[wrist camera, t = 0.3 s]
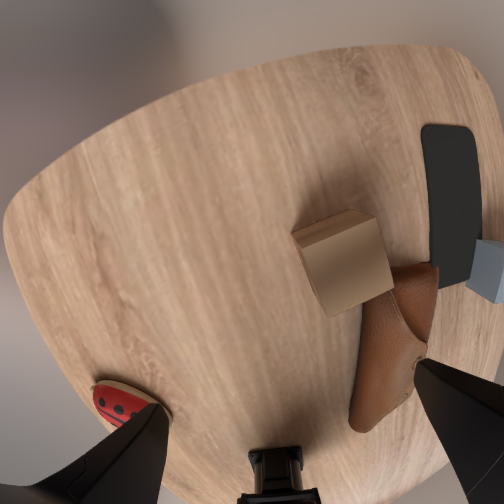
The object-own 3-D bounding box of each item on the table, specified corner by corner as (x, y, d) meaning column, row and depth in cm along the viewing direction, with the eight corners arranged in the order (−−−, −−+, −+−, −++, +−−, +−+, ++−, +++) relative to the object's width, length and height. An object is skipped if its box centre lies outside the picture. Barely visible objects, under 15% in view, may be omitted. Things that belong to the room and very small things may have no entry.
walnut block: (367, 265, 21) (394, 287, 17) (312, 289, 22) (327, 318, 17) (349, 208, 20) (375, 217, 15) (290, 233, 21) (301, 248, 16)
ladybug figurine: (166, 433, 27) (160, 454, 23) (93, 398, 26) (82, 416, 22) (181, 403, 25) (174, 427, 22) (98, 363, 24) (83, 383, 21)
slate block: (490, 284, 22) (518, 300, 17) (464, 285, 22) (494, 304, 17) (499, 240, 21) (529, 252, 16) (473, 238, 21) (506, 250, 16)
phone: (473, 128, 18) (480, 275, 21) (468, 129, 18) (475, 273, 22) (419, 123, 18) (430, 292, 21) (414, 125, 19) (425, 288, 22)
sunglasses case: (411, 400, 25) (404, 442, 20) (358, 394, 29) (342, 433, 23) (440, 257, 21) (449, 284, 15) (369, 254, 25) (358, 279, 19)
